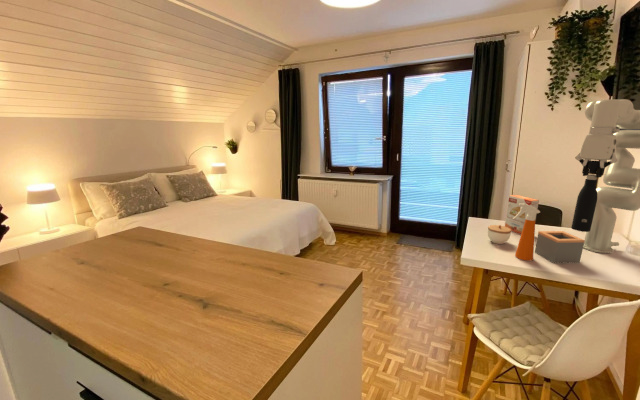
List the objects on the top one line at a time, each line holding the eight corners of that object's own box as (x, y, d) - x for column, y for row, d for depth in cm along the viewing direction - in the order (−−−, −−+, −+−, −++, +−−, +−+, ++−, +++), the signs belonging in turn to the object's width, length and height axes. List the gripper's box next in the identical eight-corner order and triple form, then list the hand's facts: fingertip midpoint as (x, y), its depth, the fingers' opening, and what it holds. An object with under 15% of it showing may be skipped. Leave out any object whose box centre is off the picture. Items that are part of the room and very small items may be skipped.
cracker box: (503, 228, 180) (508, 195, 175) (511, 227, 182) (516, 194, 177) (525, 236, 167) (531, 200, 162) (533, 235, 169) (539, 199, 164)
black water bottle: (580, 226, 134) (595, 160, 127) (594, 231, 128) (610, 161, 121) (567, 227, 134) (580, 160, 126) (580, 232, 128) (595, 162, 120)
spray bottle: (504, 253, 146) (512, 201, 139) (528, 255, 143) (538, 202, 137) (509, 259, 139) (518, 205, 133) (535, 261, 137) (546, 206, 130)
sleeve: (558, 252, 147) (563, 231, 144) (579, 263, 135) (584, 240, 132) (534, 252, 147) (538, 231, 144) (553, 263, 135) (558, 240, 132)
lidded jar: (508, 240, 162) (511, 223, 160) (510, 247, 153) (513, 229, 151) (486, 237, 167) (488, 221, 165) (486, 243, 158) (488, 226, 156)
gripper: (633, 131, 115) (622, 178, 120) (581, 131, 129) (572, 172, 134) (625, 132, 112) (614, 180, 116) (572, 131, 126) (564, 174, 131)
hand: (592, 175), depth 125 cm, fingers closed on black water bottle, 3 cm apart
